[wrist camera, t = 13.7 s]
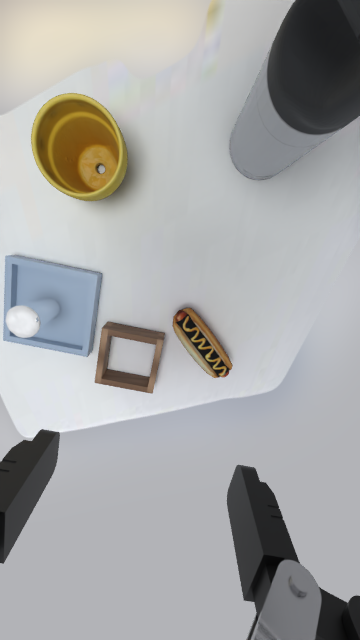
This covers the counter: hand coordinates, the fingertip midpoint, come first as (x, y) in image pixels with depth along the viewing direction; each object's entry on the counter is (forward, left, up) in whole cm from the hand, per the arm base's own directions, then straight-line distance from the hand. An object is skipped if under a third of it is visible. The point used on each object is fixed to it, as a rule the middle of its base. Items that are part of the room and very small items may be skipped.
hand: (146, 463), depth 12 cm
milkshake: (+5, -19, -33) cm, 39 cm away
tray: (+5, -19, -34) cm, 39 cm away
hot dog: (+6, +6, -34) cm, 35 cm away
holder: (+11, -5, -34) cm, 36 cm away
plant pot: (-17, -14, -34) cm, 41 cm away
